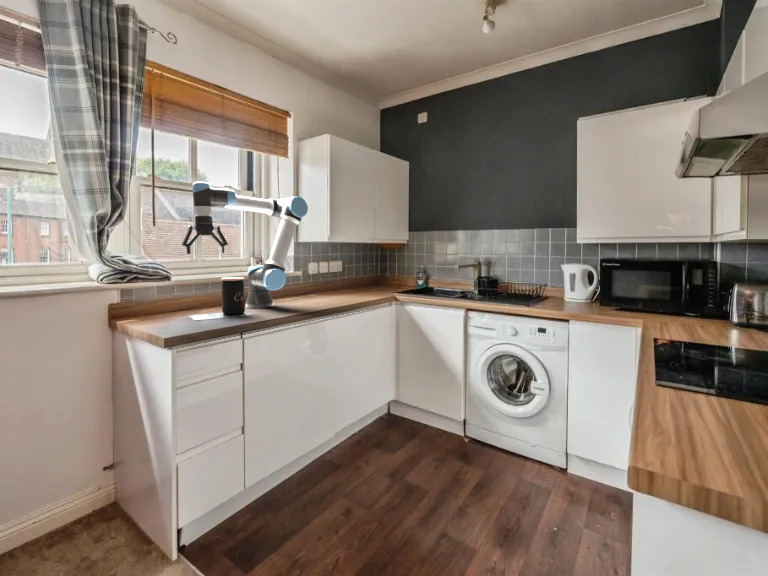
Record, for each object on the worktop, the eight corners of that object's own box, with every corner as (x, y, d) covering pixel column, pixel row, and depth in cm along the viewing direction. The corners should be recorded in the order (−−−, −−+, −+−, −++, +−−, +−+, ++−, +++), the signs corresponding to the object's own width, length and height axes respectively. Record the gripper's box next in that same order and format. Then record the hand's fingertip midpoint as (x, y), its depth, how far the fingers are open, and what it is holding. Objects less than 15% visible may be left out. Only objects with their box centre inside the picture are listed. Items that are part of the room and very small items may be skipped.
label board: (241, 311, 205) (241, 310, 205) (252, 315, 192) (252, 314, 192) (187, 316, 189) (187, 315, 189) (195, 320, 176) (195, 320, 176)
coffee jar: (237, 315, 188) (236, 278, 187) (217, 315, 191) (216, 278, 189) (249, 312, 199) (248, 277, 197) (230, 311, 201) (229, 277, 199)
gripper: (227, 217, 196) (230, 259, 198) (172, 215, 180) (176, 261, 182) (232, 216, 190) (235, 259, 192) (176, 214, 174) (180, 261, 176)
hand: (206, 260), depth 187 cm, fingers open, 13 cm apart
